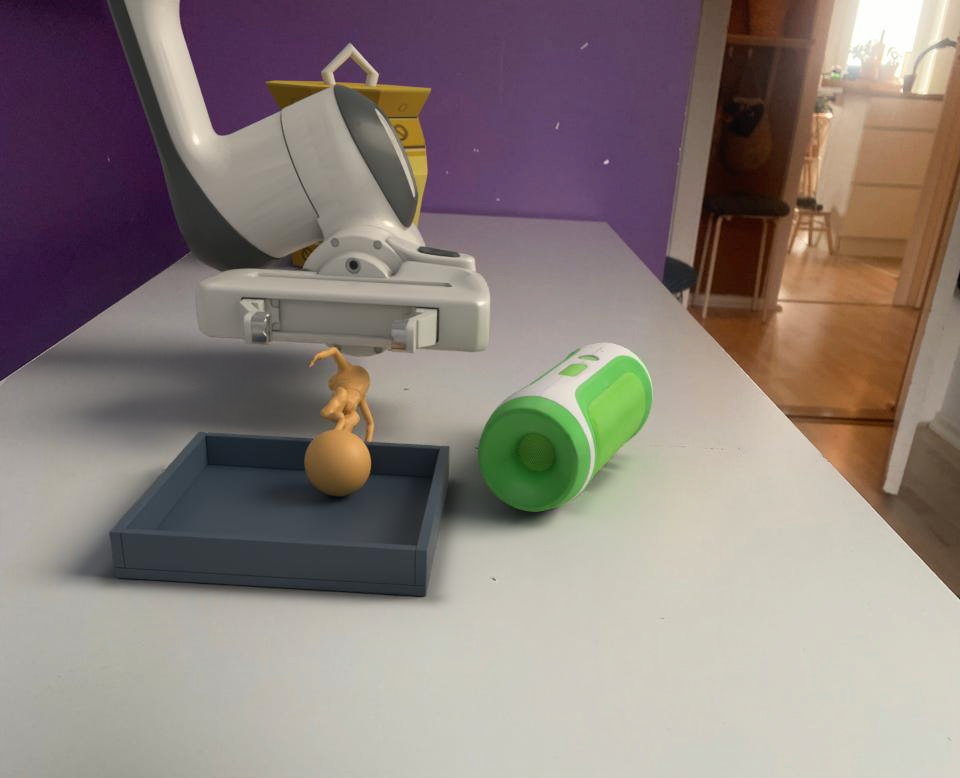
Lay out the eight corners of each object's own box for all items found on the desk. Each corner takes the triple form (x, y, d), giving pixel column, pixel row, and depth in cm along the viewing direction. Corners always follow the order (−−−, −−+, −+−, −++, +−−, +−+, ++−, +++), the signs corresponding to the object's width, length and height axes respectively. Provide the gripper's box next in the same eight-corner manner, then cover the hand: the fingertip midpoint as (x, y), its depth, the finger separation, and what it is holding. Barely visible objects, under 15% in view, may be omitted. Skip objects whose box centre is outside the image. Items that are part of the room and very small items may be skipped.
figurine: (343, 545, 64) (310, 451, 73) (431, 502, 64) (387, 414, 72) (281, 438, 58) (254, 351, 67) (377, 391, 58) (337, 310, 67)
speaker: (558, 430, 78) (567, 329, 75) (652, 446, 76) (666, 343, 72) (467, 509, 64) (472, 389, 60) (580, 531, 62) (592, 408, 58)
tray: (115, 578, 54) (108, 532, 52) (202, 469, 68) (198, 431, 67) (426, 596, 53) (427, 550, 52) (448, 484, 68) (449, 445, 66)
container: (253, 251, 140) (240, 37, 127) (399, 247, 148) (400, 45, 136) (297, 281, 123) (288, 39, 111) (459, 275, 132) (467, 48, 119)
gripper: (219, 241, 77) (161, 275, 65) (495, 256, 76) (488, 293, 64) (226, 328, 80) (171, 376, 68) (491, 342, 79) (483, 393, 67)
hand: (328, 336), depth 66 cm, fingers open, 8 cm apart
